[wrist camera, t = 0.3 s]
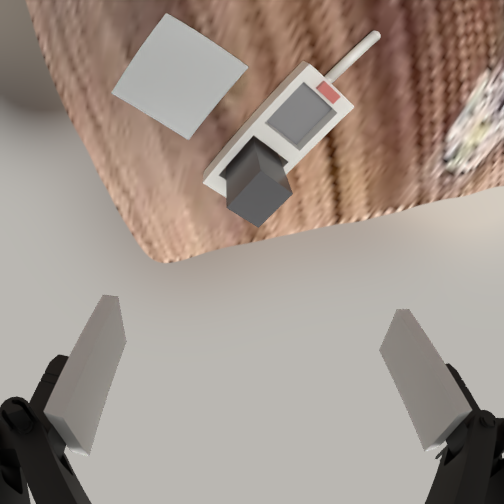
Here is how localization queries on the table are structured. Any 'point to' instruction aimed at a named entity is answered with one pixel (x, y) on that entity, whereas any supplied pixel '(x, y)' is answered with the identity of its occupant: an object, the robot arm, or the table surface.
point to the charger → (256, 182)
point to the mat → (178, 76)
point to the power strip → (292, 116)
